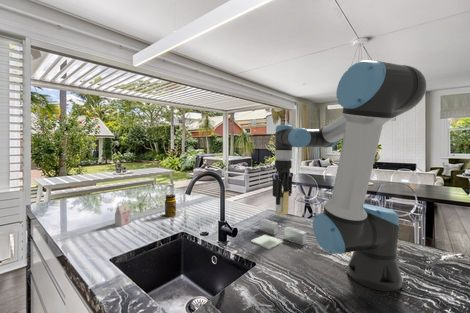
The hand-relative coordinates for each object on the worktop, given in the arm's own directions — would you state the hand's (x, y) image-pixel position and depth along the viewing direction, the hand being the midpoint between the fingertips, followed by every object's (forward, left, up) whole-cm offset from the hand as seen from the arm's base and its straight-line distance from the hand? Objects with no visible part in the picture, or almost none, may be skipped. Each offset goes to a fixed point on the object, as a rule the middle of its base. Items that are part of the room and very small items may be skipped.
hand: (282, 210), depth 109 cm
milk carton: (+63, +49, -12) cm, 81 cm away
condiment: (+60, +25, -12) cm, 66 cm away
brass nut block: (0, 0, -1) cm, 1 cm away
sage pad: (0, +10, -12) cm, 16 cm away
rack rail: (0, 0, -12) cm, 12 cm away
